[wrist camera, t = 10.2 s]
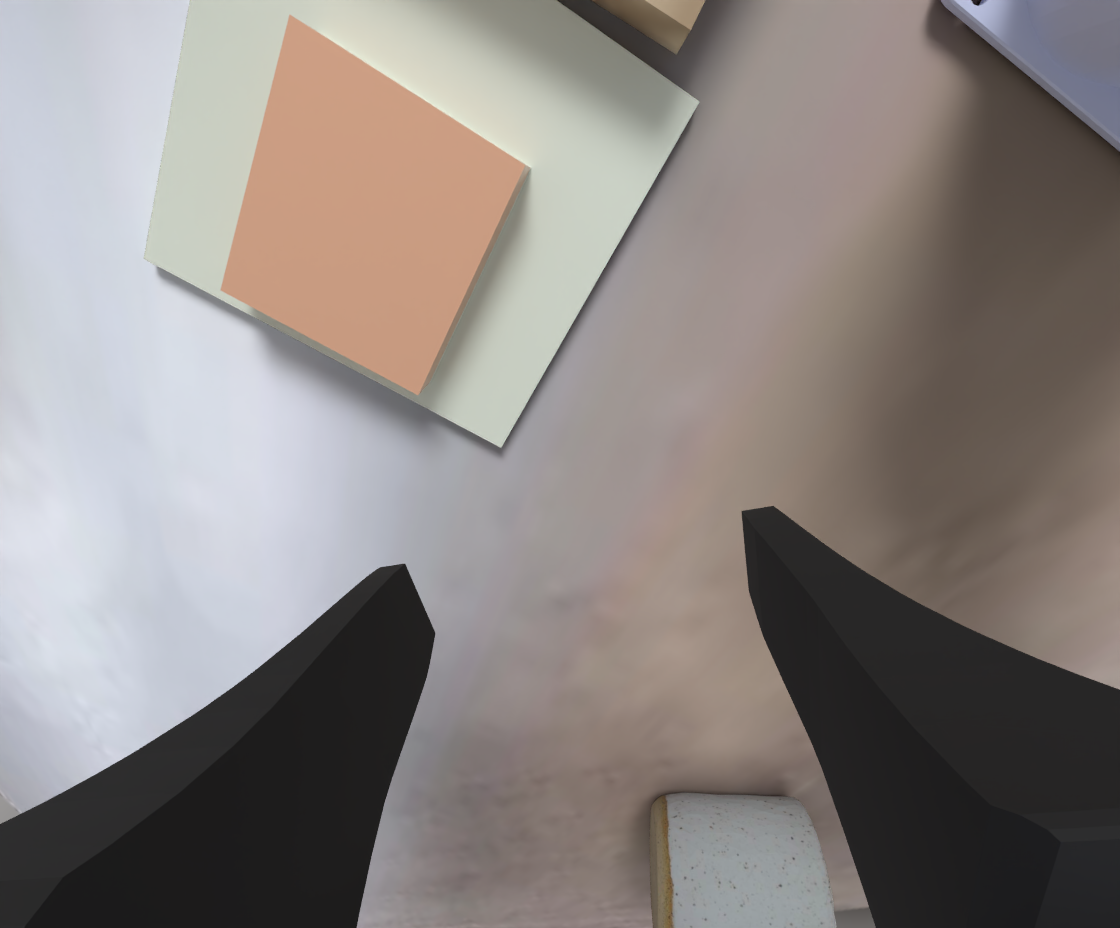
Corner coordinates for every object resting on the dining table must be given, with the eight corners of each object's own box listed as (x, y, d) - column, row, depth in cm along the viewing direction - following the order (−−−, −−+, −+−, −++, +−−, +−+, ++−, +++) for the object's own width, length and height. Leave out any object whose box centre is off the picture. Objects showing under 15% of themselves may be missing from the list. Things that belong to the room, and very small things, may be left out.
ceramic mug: (646, 763, 30) (661, 934, 23) (797, 766, 29) (858, 943, 22) (643, 864, 35) (655, 1031, 28) (772, 869, 34) (816, 1040, 27)
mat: (696, 104, 16) (699, 101, 16) (503, 442, 21) (501, 448, 21) (243, -217, 14) (231, -231, 13) (153, 257, 19) (143, 258, 18)
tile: (525, 165, 15) (418, 395, 18) (531, 167, 17) (430, 381, 20) (289, 13, 14) (220, 290, 17) (318, 31, 15) (249, 283, 19)
